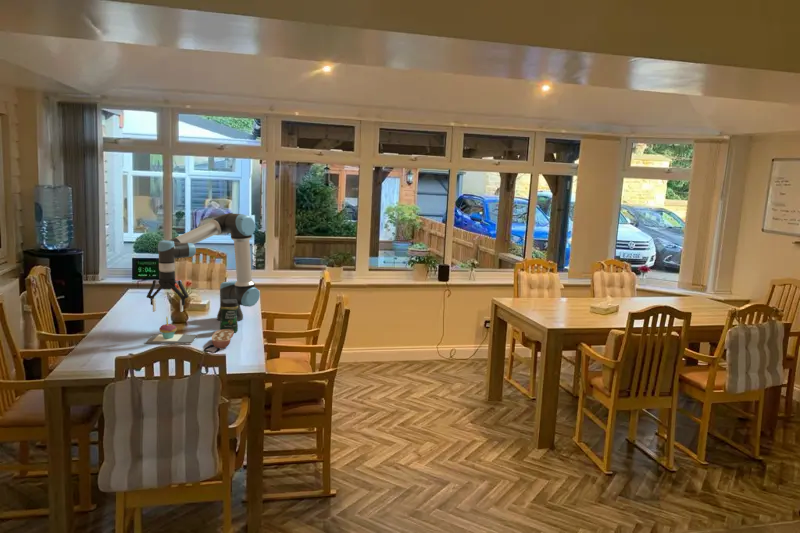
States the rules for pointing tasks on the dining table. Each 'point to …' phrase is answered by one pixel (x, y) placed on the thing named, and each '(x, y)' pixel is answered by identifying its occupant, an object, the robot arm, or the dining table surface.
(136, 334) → the dining table surface
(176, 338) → the board
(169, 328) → the cupcake
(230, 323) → the coffee jar
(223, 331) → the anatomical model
